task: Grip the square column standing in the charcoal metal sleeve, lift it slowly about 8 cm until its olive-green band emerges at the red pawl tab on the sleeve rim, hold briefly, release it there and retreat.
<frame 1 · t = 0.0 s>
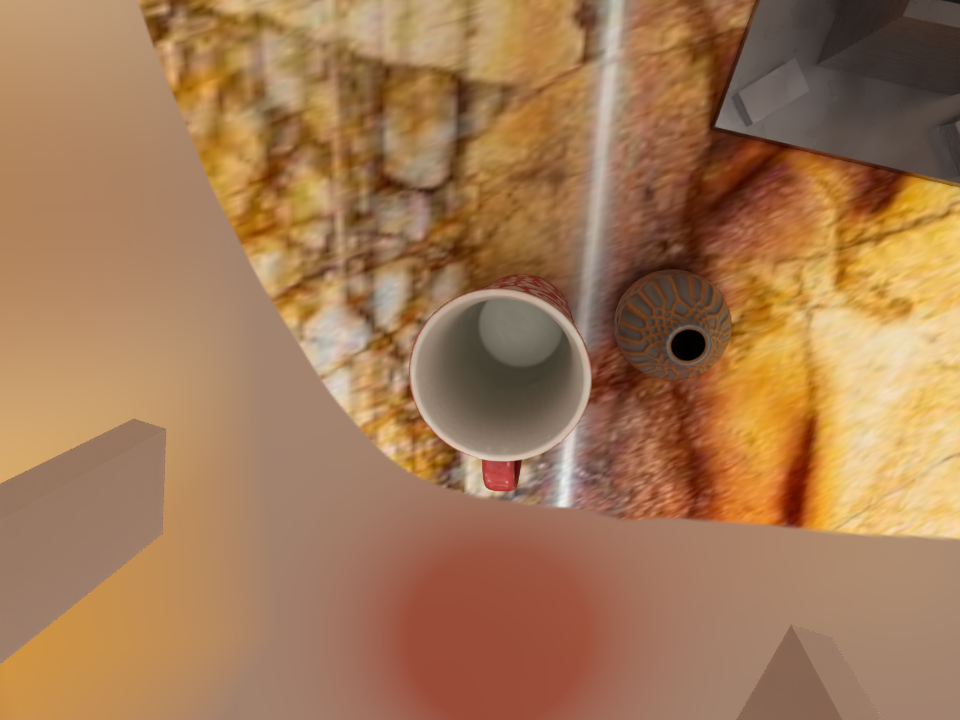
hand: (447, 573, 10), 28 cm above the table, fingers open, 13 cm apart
vase: (659, 312, 36), on the table
stand base: (904, 11, 28), on the table
mug: (519, 344, 38), on the table
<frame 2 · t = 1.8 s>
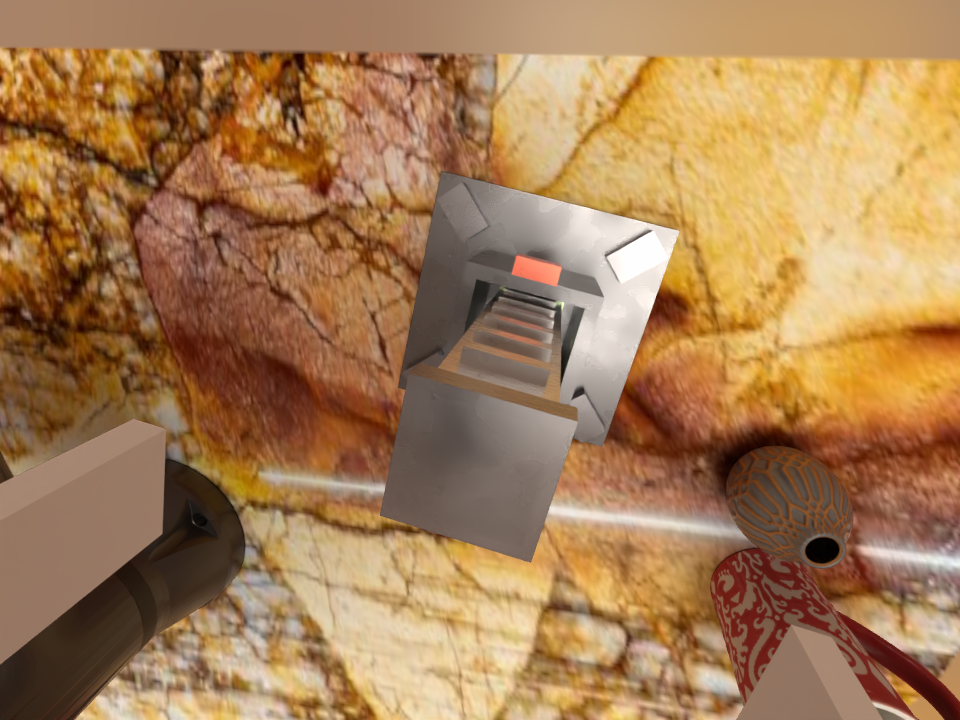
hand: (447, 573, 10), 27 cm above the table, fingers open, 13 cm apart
vase: (763, 473, 37), on the table
stand base: (527, 313, 36), on the table
mug: (780, 588, 39), on the table
column: (511, 359, 25), point 12 cm above the table, slide at 0.0 cm, touching stand base
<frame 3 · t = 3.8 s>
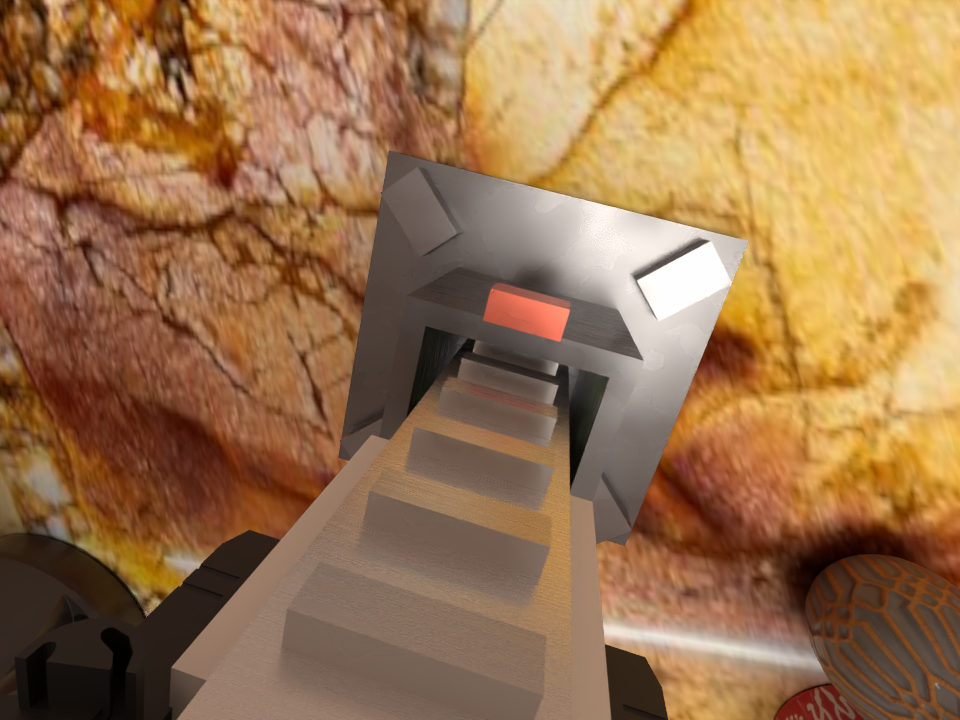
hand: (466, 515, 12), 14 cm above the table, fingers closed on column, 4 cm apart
vase: (855, 585, 26), on the table
stand base: (518, 357, 25), on the table
column: (478, 477, 14), point 12 cm above the table, slide at 0.0 cm, touching gripper, stand base
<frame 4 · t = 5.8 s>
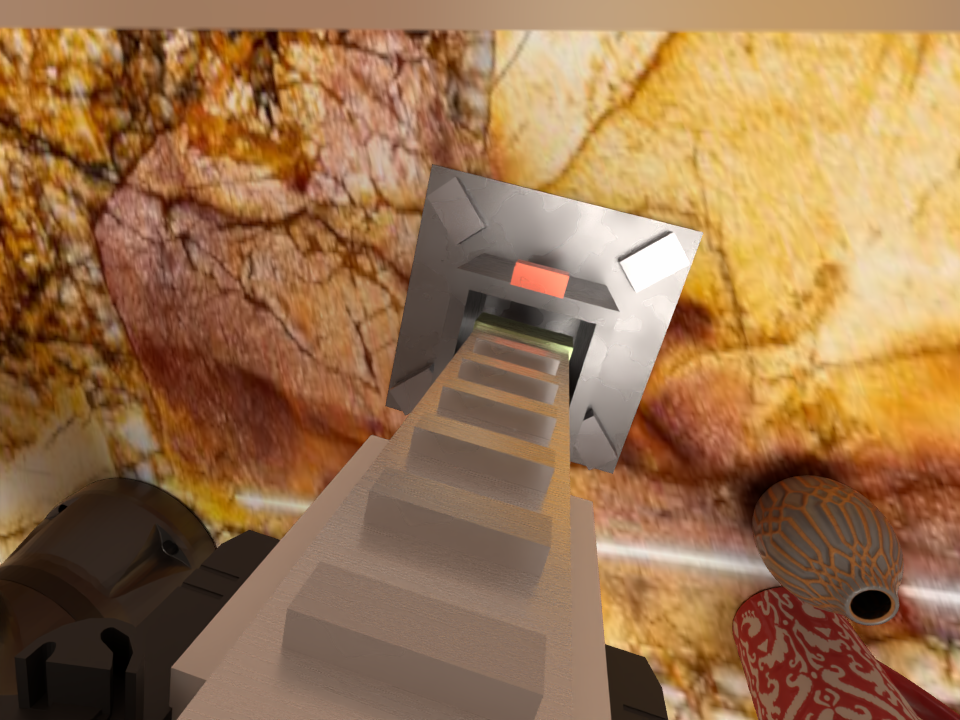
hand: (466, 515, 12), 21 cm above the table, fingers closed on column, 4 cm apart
vase: (794, 504, 33), on the table
stand base: (529, 324, 32), on the table
mug: (810, 630, 35), on the table
column: (479, 477, 14), point 19 cm above the table, slide at 7.5 cm, touching gripper
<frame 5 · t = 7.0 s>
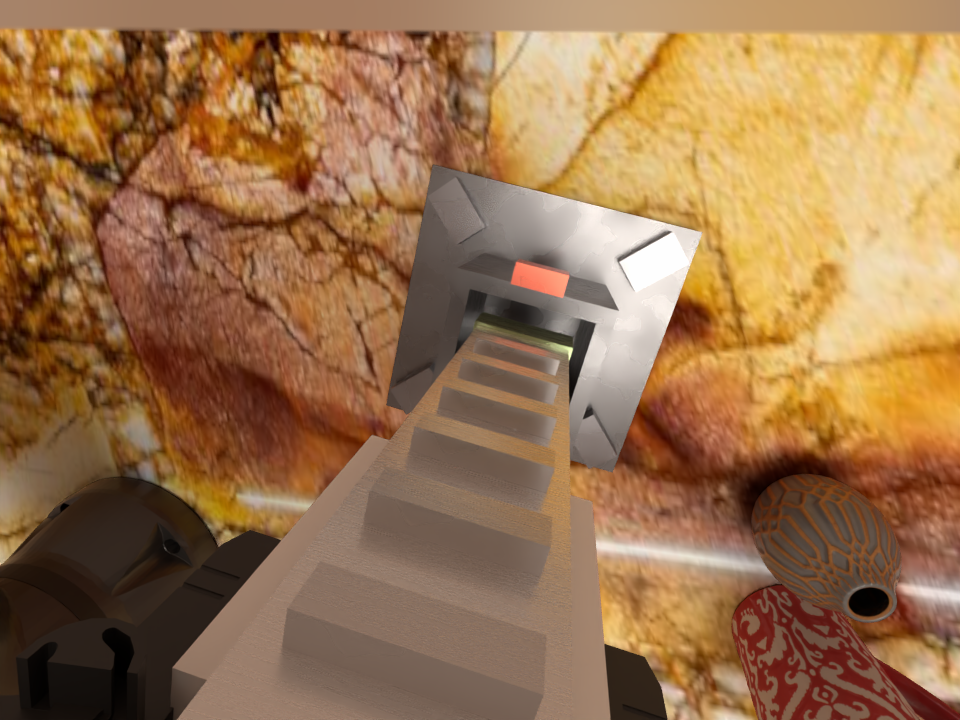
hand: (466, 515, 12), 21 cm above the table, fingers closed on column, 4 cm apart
vase: (792, 502, 33), on the table
stand base: (529, 324, 32), on the table
mug: (809, 628, 36), on the table
column: (479, 477, 14), point 20 cm above the table, slide at 7.7 cm, touching gripper
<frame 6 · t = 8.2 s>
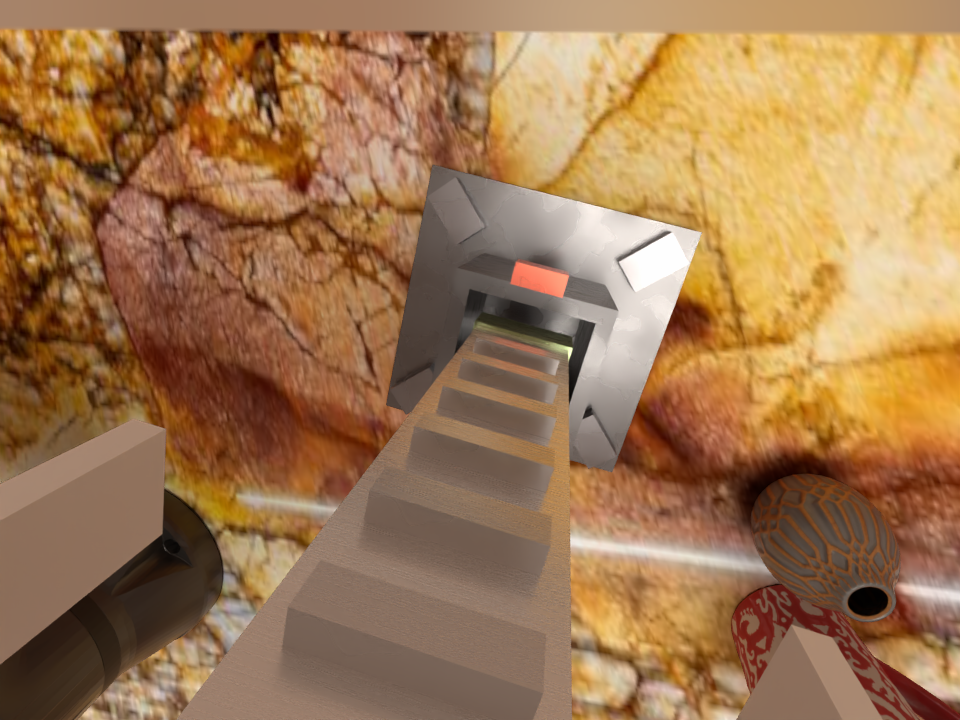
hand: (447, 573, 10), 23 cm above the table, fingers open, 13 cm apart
vase: (792, 502, 33), on the table
stand base: (528, 324, 32), on the table
mug: (808, 627, 36), on the table
column: (478, 477, 14), point 20 cm above the table, slide at 7.7 cm
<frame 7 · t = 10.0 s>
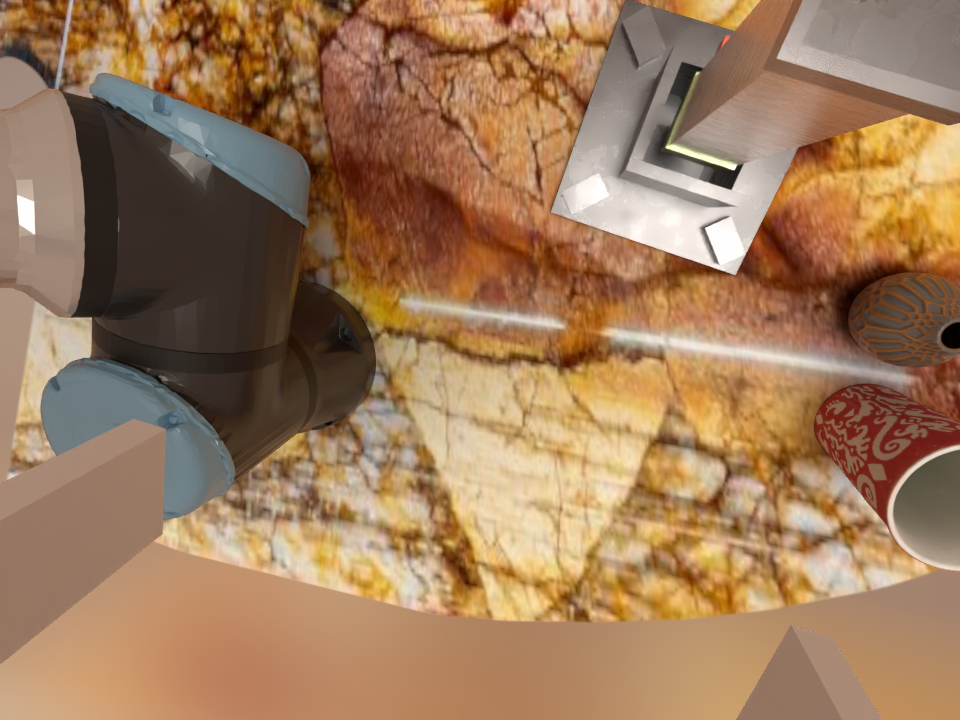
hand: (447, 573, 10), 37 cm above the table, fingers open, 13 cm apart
vase: (880, 310, 41), on the table
stand base: (680, 145, 40), on the table
mug: (879, 426, 43), on the table
column: (766, 85, 21), point 20 cm above the table, slide at 7.7 cm
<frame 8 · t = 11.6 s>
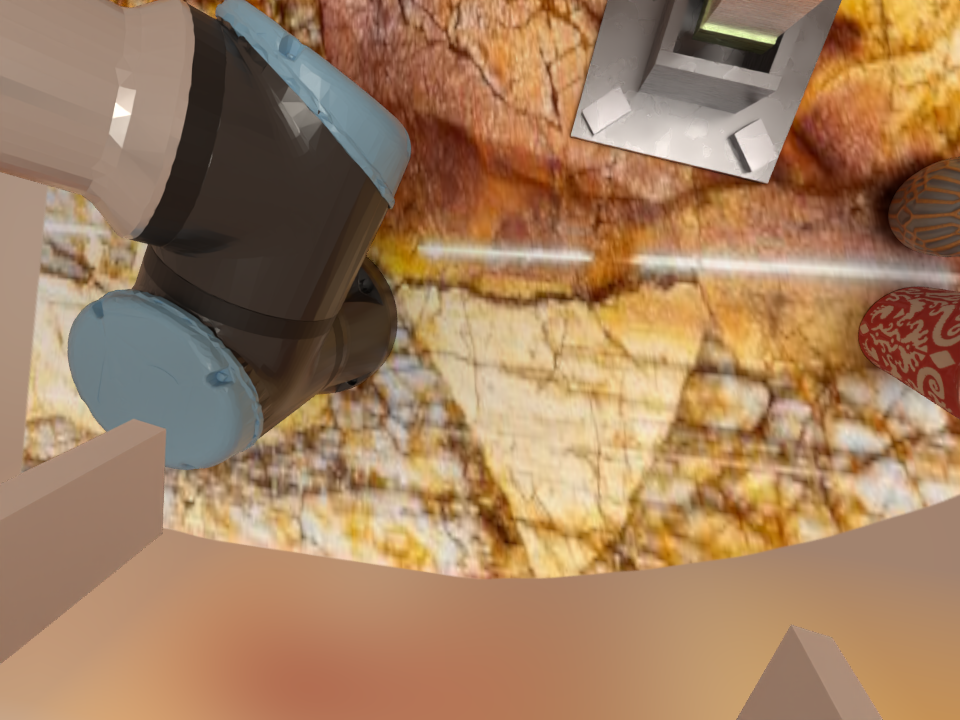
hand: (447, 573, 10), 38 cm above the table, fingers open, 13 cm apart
vase: (920, 207, 39), on the table
stand base: (701, 51, 39), on the table
mug: (926, 331, 42), on the table
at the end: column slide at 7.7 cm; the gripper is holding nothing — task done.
